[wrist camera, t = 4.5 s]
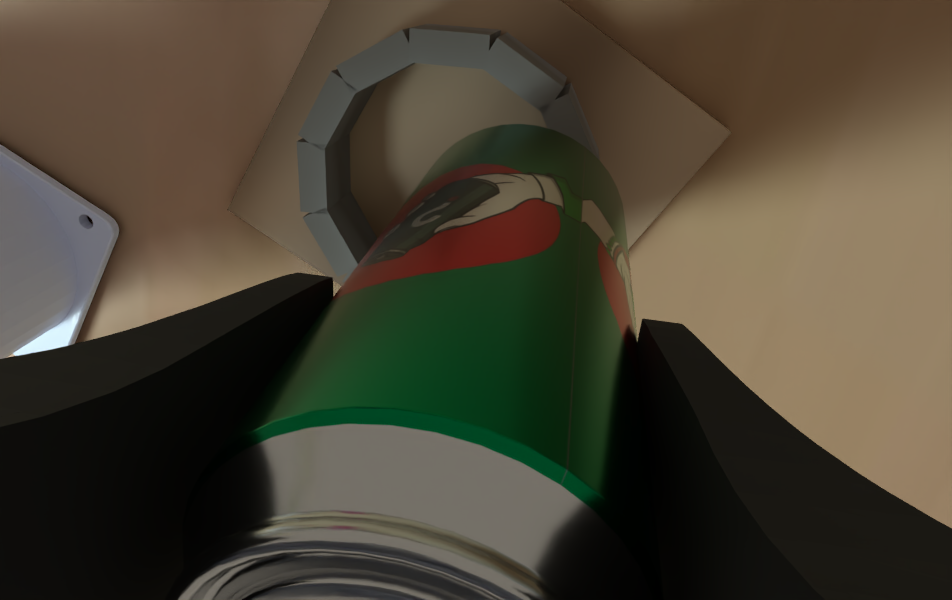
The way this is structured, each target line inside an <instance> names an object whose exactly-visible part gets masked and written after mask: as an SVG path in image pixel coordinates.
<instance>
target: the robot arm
mask: <svg viewBox="0 0 952 600" xmlns="http://www.w3.org/2000/svg"><path fill="white" fill-rule="evenodd" d="M87 215H88V216H89V217H90V218H91V219H92V221H93V224H91V223H90V222H89V221H88V218H87ZM118 235H119V227H118V224H117V223H116V221H115V220H114V219H113V218H112V217H111V216H110V215H108V214H107V213H105V212H104V211H102V210H100V209H99V208H97V207H96V206H94V205H93V204H91V203H90V202H88V201H87V200H85V199H84V198H82V197H81V196H79V195H77V194H76V193H74V192H73V191H71V190H70V189H68V188H67V187H65V186H64V185H62V184H61V183H59V182H57V181H56V180H54V179H53V178H51V177H50V176H48V175H47V174H45V173H44V172H42V171H41V170H39V169H37V168H36V167H34V166H33V165H31V164H30V163H28V162H27V161H25V160H24V159H22V158H21V157H19V156H17V155H16V154H14V153H13V152H11V151H10V150H8V149H7V148H5V147H4V146H2V145H1V144H0V600H165V597H166V595H167V593H168V592H169V590H170V588H171V586H172V584H173V583H174V581H175V579H176V577H177V576H178V575H179V574H180V573H181V572H182V571H183V533H182V523H183V518H184V514H185V510H186V505H187V501H188V497H189V495H190V493H191V491H192V489H193V488H194V486H195V484H196V482H197V480H198V478H199V476H200V474H201V472H202V471H203V470H204V468H205V467H206V466H207V464H208V463H209V462H210V460H211V459H212V458H213V456H214V455H215V454H216V452H217V451H218V450H219V448H220V447H221V446H222V444H223V443H224V442H225V441H226V439H227V438H228V437H229V435H230V434H231V433H232V431H233V430H234V429H235V427H236V426H237V425H238V423H239V422H240V421H241V419H242V418H243V417H244V415H245V414H246V413H247V411H248V410H249V409H250V407H251V406H252V405H253V403H254V402H255V401H256V399H257V398H258V397H259V395H260V394H261V393H262V391H263V390H264V389H265V387H266V386H267V385H268V383H269V382H270V381H271V379H272V378H273V377H274V375H275V374H276V373H277V371H278V370H279V369H280V367H281V366H282V365H283V363H284V362H285V361H286V359H287V358H288V357H289V355H290V354H291V353H292V352H293V350H294V349H295V348H296V346H297V345H298V344H299V342H300V341H301V340H302V338H303V337H304V336H305V334H306V333H307V332H308V330H309V329H310V328H311V326H312V325H313V324H314V322H315V321H316V320H317V318H318V317H319V316H320V314H321V313H322V312H323V310H324V309H325V308H326V306H327V305H328V304H329V302H330V301H331V300H332V298H333V277H327V276H319V275H312V274H305V273H294V274H289V275H285V276H282V277H279V278H276V279H273V280H270V281H267V282H264V283H261V284H258V285H255V286H253V287H250V288H247V289H245V290H242V291H239V292H237V293H234V294H231V295H229V296H226V297H223V298H221V299H218V300H215V301H212V302H210V303H207V304H204V305H202V306H199V307H196V308H193V309H190V310H187V311H184V312H181V313H178V314H175V315H172V316H169V317H166V318H163V319H160V320H157V321H154V322H151V323H148V324H145V325H142V326H139V327H136V328H133V329H129V330H126V331H123V332H119V333H115V334H112V335H108V336H105V337H101V338H97V339H93V340H89V341H85V342H81V343H77V344H75V341H76V339H77V336H78V334H79V331H80V329H81V326H82V324H83V322H84V319H85V317H86V314H87V312H88V309H89V307H90V304H91V302H92V299H93V297H94V294H95V292H96V289H97V287H98V284H99V282H100V280H101V277H102V275H103V272H104V270H105V267H106V265H107V262H108V260H109V257H110V255H111V252H112V250H113V247H114V245H115V243H116V240H117V238H118ZM637 344H638V354H639V363H640V373H641V383H642V391H643V400H644V410H645V420H646V429H647V439H648V449H649V459H650V469H651V479H652V488H653V498H654V508H655V518H656V528H657V537H658V547H659V557H660V567H661V577H662V586H663V596H664V600H952V528H950V527H948V526H946V525H944V524H942V523H940V522H939V521H937V520H935V519H933V518H932V517H930V516H928V515H926V514H925V513H923V512H921V511H920V510H918V509H916V508H915V507H913V506H911V505H909V504H908V503H906V502H904V501H903V500H901V499H899V498H898V497H896V496H894V495H893V494H891V493H889V492H887V491H886V490H884V489H882V488H881V487H879V486H878V485H876V484H875V483H873V482H871V481H870V480H868V479H867V478H865V477H864V476H862V475H860V474H859V473H857V472H856V471H854V470H853V469H852V468H850V467H849V466H847V465H846V464H844V463H843V462H842V461H840V460H839V459H837V458H836V457H834V456H833V455H832V454H830V453H829V452H827V451H826V450H824V449H823V448H822V447H820V446H819V445H817V444H816V443H815V442H813V441H812V440H811V439H809V438H808V437H807V436H805V435H804V434H803V433H801V432H800V431H799V430H798V429H796V428H795V427H794V426H793V425H791V424H790V423H789V422H788V421H787V420H785V419H784V418H783V417H782V416H781V415H779V414H778V413H777V412H776V411H775V410H773V409H772V408H771V407H770V406H769V405H767V404H766V403H765V402H764V401H763V400H762V399H761V398H759V397H758V396H757V395H756V394H755V393H754V392H753V391H752V390H750V389H749V388H748V387H747V386H746V385H745V384H744V383H743V382H742V381H741V380H740V379H739V378H738V377H737V376H735V375H734V374H733V373H732V372H731V371H730V370H729V369H728V368H727V367H726V366H725V365H724V364H723V363H722V362H721V361H720V360H719V359H718V358H717V357H716V356H715V355H714V354H713V353H712V352H711V351H710V350H709V349H708V348H707V347H706V346H705V345H704V344H703V343H702V342H701V341H700V340H699V339H698V338H697V337H696V336H695V335H694V334H693V333H692V332H691V331H690V330H688V329H687V328H686V327H685V326H684V325H682V324H679V323H671V322H664V321H656V320H649V319H642V323H641V328H640V333H639V337H638V342H637ZM11 354H14V355H16V356H13V357H8V356H9V355H11ZM6 357H8V358H6Z"/></svg>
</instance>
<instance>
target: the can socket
mask: <svg viewBox="0 0 952 600" xmlns="http://www.w3.org/2000/svg"><path fill="white" fill-rule="evenodd" d="M505 124H527V125H537V126H541V127H545V128H548V129H552V130H555V131H557V132H560V133H562V134H564V135H566V136H569V137H571V138H572V139H574V140H575V141H577V142H578V143H580V144H582V145H583V146H585V147H586V148H587V149H588V150H589V151H590V152H591V153H593V154H594V155H595V156H596V157H597V158H598V159H599V160H600V161H601V163H602V164H603V165H604V167H605V168H606V169H607V170H608V172H609V173H610V175H611V177H612V179H613V181H614V182H615V184H616V186H617V188H618V191H619V194H620V197H621V200H622V203H623V209H624V216H625V224H626V233H627V243H628V249H629V248H630V247H631V246H632V245H633V244H634V242H635V241H636V240H637V239H638V238H639V237H640V236H641V235H642V233H643V232H644V231H645V230H646V229H647V228H648V227H649V226H650V224H651V223H652V222H653V221H654V220H655V219H656V218H657V216H658V215H659V214H660V213H661V212H662V211H663V210H664V209H665V207H666V206H667V205H668V204H669V203H670V202H671V201H672V199H673V198H674V197H675V196H676V195H677V194H678V193H679V192H680V190H681V189H682V188H683V187H684V186H685V185H686V184H687V182H688V181H689V180H690V179H691V178H692V177H693V176H694V175H695V173H696V172H697V171H698V170H699V169H700V168H701V167H702V165H703V164H704V163H705V162H706V161H707V160H708V159H709V158H710V156H711V155H712V154H713V153H714V152H715V151H716V150H717V149H718V147H719V146H720V145H721V144H722V143H723V142H724V141H725V139H726V138H727V137H728V136H729V135H730V134H731V131H730V130H729V129H728V128H726V127H725V126H724V125H722V124H721V123H720V122H718V121H717V120H716V119H715V118H713V117H712V116H711V115H709V114H708V113H707V112H705V111H704V110H703V109H702V108H700V107H699V106H698V105H696V104H695V103H694V102H692V101H691V100H690V99H689V98H687V97H686V96H685V95H683V94H682V93H681V92H679V91H678V90H677V89H676V88H674V87H673V86H672V85H670V84H669V83H668V82H666V81H665V80H664V79H663V78H661V77H660V76H659V75H657V74H656V73H655V72H653V71H652V70H651V69H649V68H648V67H647V66H646V65H644V64H643V63H642V62H640V61H639V60H638V59H636V58H635V57H634V56H633V55H631V54H630V53H629V52H627V51H626V50H625V49H623V48H622V47H621V46H620V45H618V44H617V43H616V42H614V41H613V40H612V39H610V38H609V37H608V36H607V35H605V34H604V33H603V32H601V31H600V30H599V29H597V28H596V27H595V26H594V25H592V24H591V23H590V22H588V21H587V20H586V19H584V18H583V17H582V16H580V15H579V14H578V13H577V12H575V11H574V10H573V9H571V8H570V7H569V6H567V5H566V4H565V3H564V2H562V1H561V0H331V1H330V3H329V5H328V7H327V9H326V11H325V13H324V15H323V17H322V19H321V21H320V23H319V25H318V27H317V29H316V31H315V33H314V35H313V37H312V39H311V41H310V43H309V45H308V48H307V50H306V52H305V54H304V56H303V58H302V60H301V62H300V64H299V66H298V68H297V70H296V72H295V74H294V76H293V78H292V80H291V82H290V84H289V86H288V88H287V90H286V92H285V94H284V96H283V98H282V100H281V102H280V104H279V106H278V108H277V110H276V112H275V114H274V116H273V118H272V121H271V123H270V125H269V127H268V129H267V131H266V133H265V135H264V137H263V139H262V141H261V143H260V145H259V147H258V149H257V151H256V153H255V155H254V157H253V159H252V161H251V163H250V165H249V167H248V169H247V171H246V173H245V175H244V177H243V179H242V181H241V183H240V185H239V187H238V189H237V191H236V193H235V196H234V198H233V200H232V202H231V204H230V206H229V208H228V210H229V211H230V212H232V213H233V214H235V215H236V216H238V217H239V218H241V219H242V220H244V221H245V222H247V223H248V224H249V225H251V226H252V227H254V228H255V229H257V230H258V231H260V232H261V233H263V234H264V235H266V236H267V237H269V238H270V239H272V240H273V241H275V242H276V243H278V244H279V245H281V246H282V247H284V248H285V249H287V250H288V251H290V252H291V253H293V254H294V255H296V256H297V257H299V258H300V259H302V260H303V261H305V262H306V263H308V264H309V265H311V266H312V267H314V268H315V269H317V270H318V271H320V272H321V273H323V274H324V275H326V276H327V277H333V281H335V282H336V283H338V284H339V285H341V286H342V285H343V284H344V282H345V281H346V280H347V278H348V277H349V276H350V274H351V273H352V272H353V270H354V269H355V268H356V266H357V265H358V264H359V263H360V261H361V260H362V259H363V257H364V256H365V255H366V253H367V252H368V251H369V249H370V248H371V247H372V245H373V244H374V243H375V241H376V240H377V239H378V237H379V236H380V235H381V233H382V232H383V231H384V229H385V228H386V227H387V225H388V224H389V223H390V221H391V220H392V219H393V217H394V216H395V215H396V213H397V212H398V211H399V209H400V208H401V207H402V205H403V204H404V203H405V201H406V200H407V199H408V197H409V196H410V195H411V193H412V192H413V191H414V189H415V188H416V187H417V185H418V184H419V183H420V181H421V180H422V179H423V177H424V176H425V175H426V173H427V172H428V171H429V170H430V168H431V167H432V166H433V164H434V163H435V162H436V161H437V160H438V158H439V157H440V156H441V155H442V154H443V153H444V152H445V151H446V150H447V149H449V148H450V147H451V146H452V145H453V144H454V143H456V142H458V141H459V140H461V139H463V138H464V137H466V136H468V135H469V134H472V133H475V132H477V131H480V130H482V129H485V128H489V127H494V126H498V125H505Z"/></svg>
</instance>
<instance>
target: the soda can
mask: <svg viewBox="0 0 952 600" xmlns="http://www.w3.org/2000/svg"><path fill="white" fill-rule="evenodd" d="M637 342H638V341H637V331H636V322H635V312H634V302H633V292H632V282H631V273H630V263H629V253H628V243H627V233H626V224H625V216H624V209H623V203H622V200H621V197H620V194H619V191H618V188H617V186H616V184H615V182H614V181H613V179H612V177H611V175H610V173H609V172H608V170H607V169H606V168H605V167H604V165H603V164H602V163H601V161H600V160H599V159H598V158H597V157H596V156H595V155H594V154H593V153H591V152H590V151H589V150H588V149H587V148H586V147H585V146H583V145H582V144H580V143H578V142H577V141H575V140H574V139H572V138H571V137H569V136H566V135H564V134H562V133H560V132H557V131H555V130H552V129H548V128H545V127H541V126H537V125H527V124H505V125H498V126H494V127H489V128H485V129H482V130H480V131H477V132H475V133H472V134H469V135H468V136H466V137H464V138H463V139H461V140H459V141H458V142H456V143H454V144H453V145H452V146H451V147H450V148H449V149H447V150H446V151H445V152H444V153H443V154H442V155H441V156H440V157H439V158H438V160H437V161H436V162H435V163H434V164H433V166H432V167H431V168H430V170H429V171H428V172H427V173H426V175H425V176H424V177H423V179H422V180H421V181H420V183H419V184H418V185H417V187H416V188H415V189H414V191H413V192H412V193H411V195H410V196H409V197H408V199H407V200H406V201H405V203H404V204H403V205H402V207H401V208H400V209H399V211H398V212H397V213H396V215H395V216H394V217H393V219H392V220H391V221H390V223H389V224H388V225H387V227H386V228H385V229H384V231H383V232H382V233H381V235H380V236H379V237H378V239H377V240H376V241H375V243H374V244H373V245H372V247H371V248H370V249H369V251H368V252H367V253H366V255H365V256H364V257H363V259H362V260H361V261H360V263H359V264H358V265H357V266H356V268H355V269H354V270H353V272H352V273H351V274H350V276H349V277H348V278H347V280H346V281H345V282H344V284H343V285H342V286H341V288H340V289H339V290H338V292H337V293H336V294H335V296H334V297H333V298H332V300H331V301H330V302H329V304H328V305H327V306H326V308H325V309H324V310H323V312H322V313H321V314H320V316H319V317H318V318H317V320H316V321H315V322H314V324H313V325H312V326H311V328H310V329H309V330H308V332H307V333H306V334H305V336H304V337H303V338H302V340H301V341H300V342H299V344H298V345H297V346H296V348H295V349H294V350H293V352H292V353H291V354H290V355H289V357H288V358H287V359H286V361H285V362H284V363H283V365H282V366H281V367H280V369H279V370H278V371H277V373H276V374H275V375H274V377H273V378H272V379H271V381H270V382H269V383H268V385H267V386H266V387H265V389H264V390H263V391H262V393H261V394H260V395H259V397H258V398H257V399H256V401H255V402H254V403H253V405H252V406H251V407H250V409H249V410H248V411H247V413H246V414H245V415H244V417H243V418H242V419H241V421H240V422H239V423H238V425H237V426H236V427H235V429H234V430H233V431H232V433H231V434H230V435H229V437H228V438H227V439H226V441H225V442H224V443H223V444H222V446H221V447H220V448H219V450H218V451H217V452H216V454H215V455H214V456H213V458H212V459H211V460H210V462H209V463H208V464H207V466H206V467H205V468H204V470H203V471H202V472H201V474H200V476H199V478H198V480H197V482H196V484H195V486H194V488H193V489H192V491H191V493H190V495H189V497H188V501H187V505H186V510H185V514H184V518H183V523H182V533H183V571H182V572H181V573H180V574H179V575H178V576H177V577H176V579H175V581H174V583H173V584H172V586H171V588H170V590H169V592H168V593H167V595H166V597H165V600H664V596H663V586H662V577H661V567H660V557H659V547H658V537H657V528H656V518H655V508H654V498H653V488H652V479H651V469H650V459H649V449H648V439H647V429H646V420H645V410H644V400H643V391H642V383H641V373H640V363H639V354H638V344H637Z"/></svg>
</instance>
